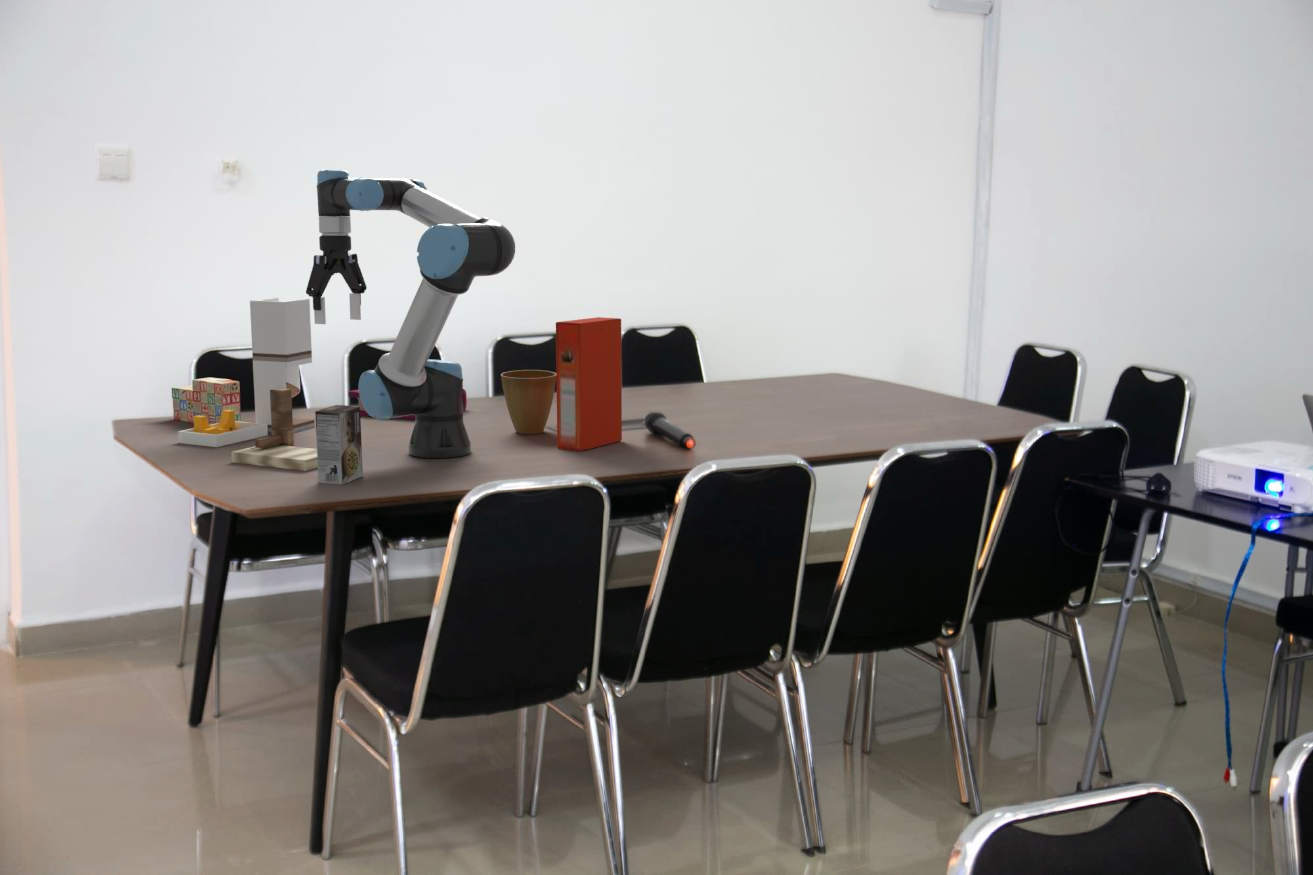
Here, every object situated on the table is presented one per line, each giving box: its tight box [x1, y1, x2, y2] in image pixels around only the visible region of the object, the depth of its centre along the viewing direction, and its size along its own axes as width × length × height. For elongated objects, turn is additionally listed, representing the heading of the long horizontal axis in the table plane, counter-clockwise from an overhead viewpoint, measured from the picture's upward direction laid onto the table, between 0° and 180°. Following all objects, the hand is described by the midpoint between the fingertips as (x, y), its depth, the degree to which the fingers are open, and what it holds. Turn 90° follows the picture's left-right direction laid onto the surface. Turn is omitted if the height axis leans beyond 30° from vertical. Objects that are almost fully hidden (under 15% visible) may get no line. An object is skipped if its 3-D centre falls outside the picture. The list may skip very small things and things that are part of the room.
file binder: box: [555, 316, 623, 452], centre depth 325 cm, size 8×17×32 cm, turn 146°
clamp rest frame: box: [177, 421, 269, 448], centre depth 331 cm, size 13×19×3 cm
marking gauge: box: [254, 388, 295, 448], centre depth 308 cm, size 5×10×16 cm, turn 155°
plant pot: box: [500, 369, 557, 435], centre depth 343 cm, size 15×15×16 cm
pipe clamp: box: [193, 410, 235, 435], centre depth 333 cm, size 12×4×6 cm, turn 155°
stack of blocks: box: [171, 377, 242, 425], centre depth 356 cm, size 21×6×12 cm, turn 58°
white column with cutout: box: [249, 297, 316, 434], centre depth 343 cm, size 11×11×35 cm
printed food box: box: [314, 404, 364, 486], centre depth 283 cm, size 9×6×16 cm
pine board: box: [230, 445, 318, 472], centre depth 303 cm, size 22×12×3 cm, turn 65°
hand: (338, 321), depth 315 cm, fingers open, 13 cm apart
